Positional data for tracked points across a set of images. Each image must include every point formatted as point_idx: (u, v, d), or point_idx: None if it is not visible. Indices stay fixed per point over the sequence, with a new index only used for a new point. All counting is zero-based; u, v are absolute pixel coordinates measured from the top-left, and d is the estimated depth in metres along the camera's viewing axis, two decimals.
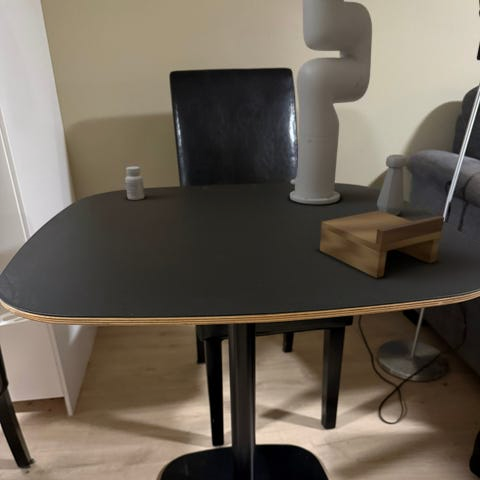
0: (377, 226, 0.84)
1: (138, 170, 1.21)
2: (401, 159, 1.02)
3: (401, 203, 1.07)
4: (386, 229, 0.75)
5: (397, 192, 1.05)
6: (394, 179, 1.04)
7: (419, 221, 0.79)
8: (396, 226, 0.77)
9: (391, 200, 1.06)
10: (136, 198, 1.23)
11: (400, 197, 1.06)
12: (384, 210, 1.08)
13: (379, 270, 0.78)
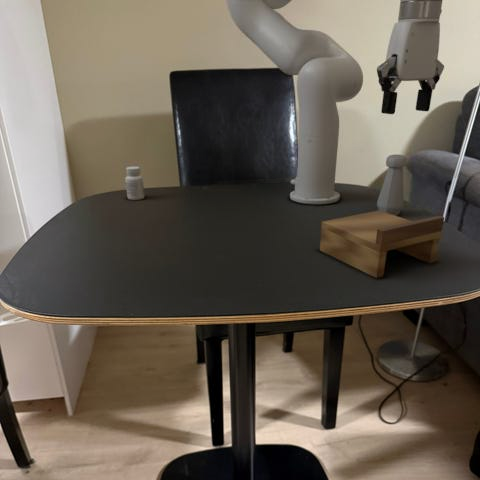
0: (377, 226, 0.84)
1: (138, 170, 1.21)
2: (401, 159, 1.02)
3: (401, 203, 1.07)
4: (386, 229, 0.75)
5: (397, 192, 1.05)
6: (394, 179, 1.04)
7: (419, 221, 0.79)
8: (396, 226, 0.77)
9: (391, 200, 1.06)
10: (136, 198, 1.23)
11: (400, 197, 1.06)
12: (384, 210, 1.08)
13: (379, 270, 0.78)
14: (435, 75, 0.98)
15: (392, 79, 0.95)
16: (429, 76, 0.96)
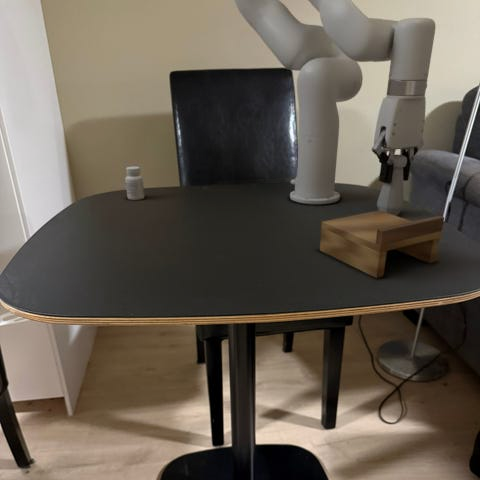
0: (377, 226, 0.84)
1: (138, 170, 1.21)
2: (402, 159, 1.02)
3: (401, 203, 1.07)
4: (386, 229, 0.75)
5: (397, 192, 1.05)
6: (394, 179, 1.04)
7: (419, 221, 0.79)
8: (396, 226, 0.77)
9: (391, 200, 1.06)
10: (136, 198, 1.23)
11: (400, 197, 1.06)
12: (384, 210, 1.08)
13: (379, 270, 0.78)
14: (413, 148, 1.05)
15: (386, 151, 1.02)
16: (416, 144, 1.02)
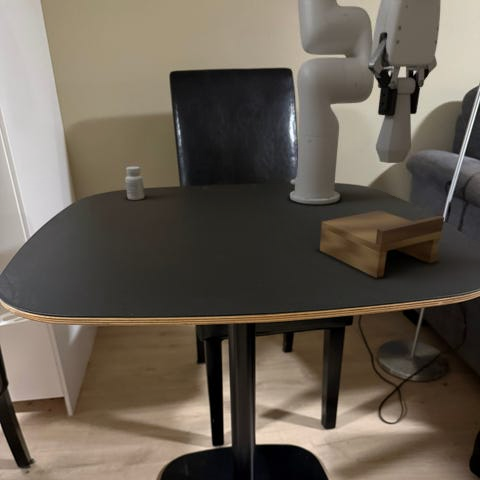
0: (377, 226, 0.84)
1: (138, 170, 1.21)
2: (408, 81, 0.76)
3: (408, 144, 0.80)
4: (386, 229, 0.75)
5: (402, 128, 0.79)
6: (399, 109, 0.78)
7: (419, 221, 0.79)
8: (396, 226, 0.77)
9: (395, 139, 0.80)
10: (136, 198, 1.23)
11: (406, 135, 0.80)
12: (385, 154, 0.81)
13: (379, 270, 0.78)
14: (423, 69, 0.78)
15: (387, 70, 0.76)
16: (427, 61, 0.76)
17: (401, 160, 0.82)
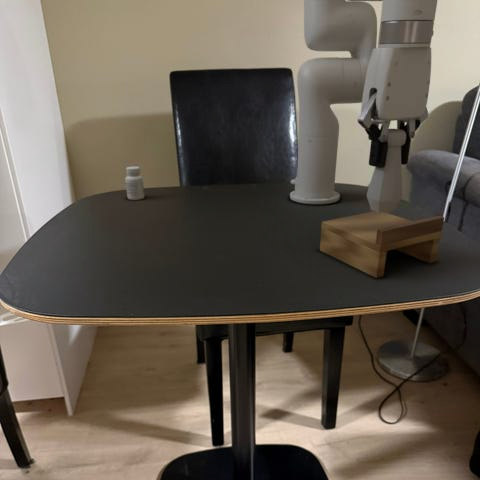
0: (377, 226, 0.84)
1: (138, 170, 1.21)
2: (399, 134, 0.75)
3: (399, 194, 0.80)
4: (386, 229, 0.75)
5: (393, 179, 0.78)
6: (389, 161, 0.78)
7: (419, 221, 0.79)
8: (396, 226, 0.77)
9: (385, 190, 0.79)
10: (136, 198, 1.23)
11: (397, 186, 0.79)
12: (376, 204, 0.81)
13: (379, 270, 0.78)
14: (414, 120, 0.78)
15: (378, 123, 0.76)
16: (418, 114, 0.76)
17: (392, 210, 0.81)
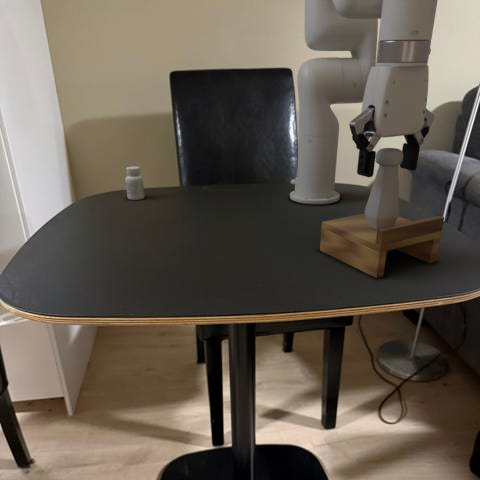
0: None
1: (138, 170, 1.21)
2: (396, 153, 0.77)
3: (396, 212, 0.81)
4: (386, 229, 0.75)
5: (390, 197, 0.80)
6: (387, 180, 0.79)
7: (419, 221, 0.79)
8: (396, 226, 0.77)
9: (383, 208, 0.81)
10: (136, 198, 1.23)
11: (394, 204, 0.81)
12: (374, 221, 0.82)
13: (379, 270, 0.78)
14: (423, 127, 0.79)
15: (369, 135, 0.76)
16: (416, 130, 0.77)
17: (389, 226, 0.83)
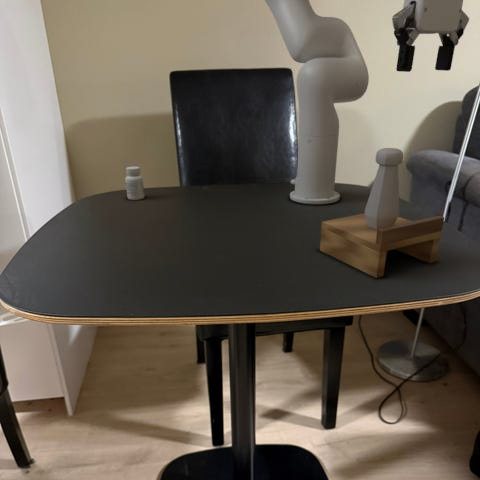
0: None
1: (138, 170, 1.21)
2: (396, 153, 0.77)
3: (396, 212, 0.81)
4: (386, 229, 0.75)
5: (390, 197, 0.80)
6: (387, 180, 0.79)
7: (419, 221, 0.79)
8: (396, 226, 0.77)
9: (383, 208, 0.81)
10: (136, 198, 1.23)
11: (394, 204, 0.81)
12: (374, 221, 0.82)
13: (379, 270, 0.78)
14: (458, 29, 0.87)
15: (409, 31, 0.83)
16: (452, 28, 0.84)
17: (389, 226, 0.83)
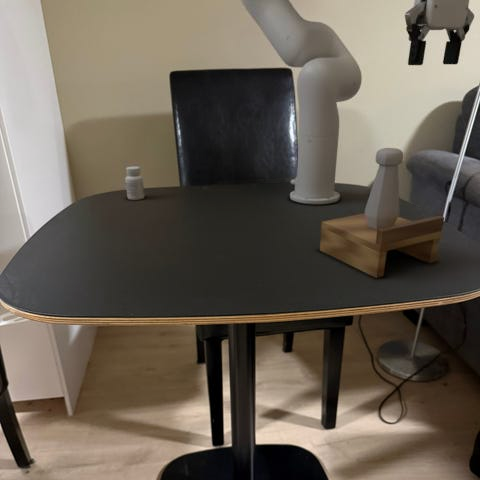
0: None
1: (138, 170, 1.21)
2: (396, 153, 0.77)
3: (396, 212, 0.81)
4: (386, 229, 0.75)
5: (390, 197, 0.80)
6: (387, 180, 0.79)
7: (419, 221, 0.79)
8: (396, 226, 0.77)
9: (383, 208, 0.81)
10: (136, 198, 1.23)
11: (394, 204, 0.81)
12: (374, 221, 0.82)
13: (379, 270, 0.78)
14: (465, 25, 0.93)
15: (420, 27, 0.89)
16: (459, 24, 0.90)
17: (389, 226, 0.83)
